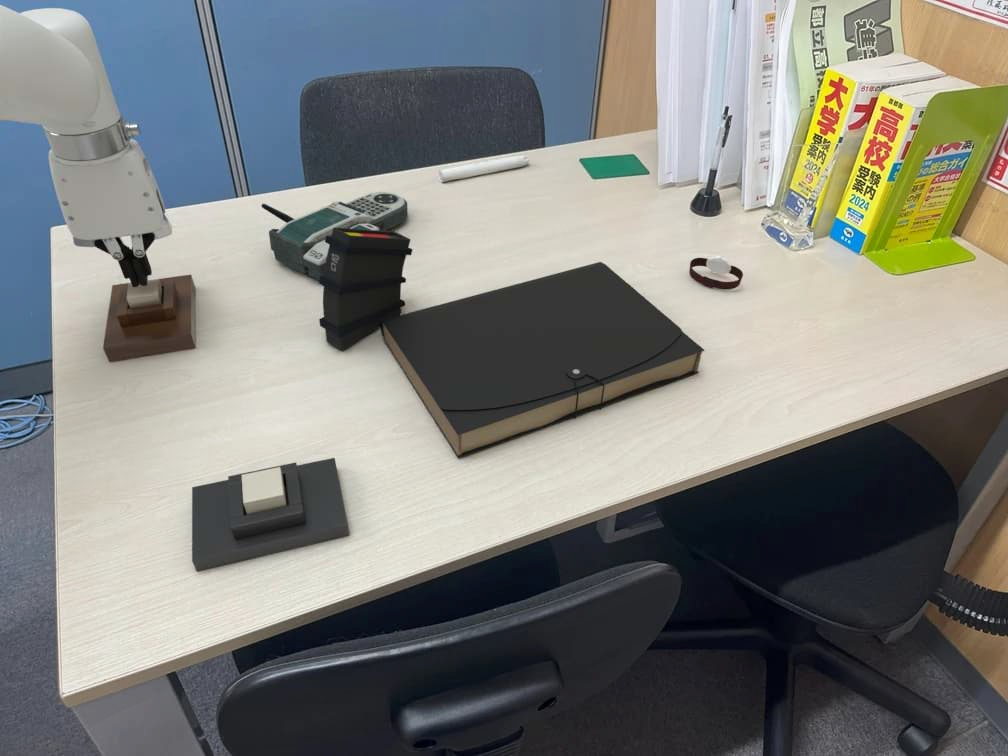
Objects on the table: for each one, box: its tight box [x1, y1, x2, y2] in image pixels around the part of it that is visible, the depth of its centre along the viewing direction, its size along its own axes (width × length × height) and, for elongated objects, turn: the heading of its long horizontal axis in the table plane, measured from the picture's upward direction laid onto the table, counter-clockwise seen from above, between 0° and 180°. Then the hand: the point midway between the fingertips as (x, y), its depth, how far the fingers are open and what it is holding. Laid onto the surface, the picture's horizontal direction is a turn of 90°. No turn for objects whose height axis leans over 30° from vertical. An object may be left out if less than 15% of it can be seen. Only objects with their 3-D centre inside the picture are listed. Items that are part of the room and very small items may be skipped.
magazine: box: [318, 227, 413, 351], centre depth 90 cm, size 4×13×15 cm, turn 141°
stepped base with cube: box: [191, 457, 350, 572], centre depth 69 cm, size 14×9×4 cm, turn 108°
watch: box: [688, 255, 744, 291], centre depth 103 cm, size 8×5×4 cm, turn 63°
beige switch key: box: [127, 278, 162, 309], centre depth 90 cm, size 4×4×2 cm
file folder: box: [379, 261, 706, 459], centre depth 89 cm, size 33×4×24 cm
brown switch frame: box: [102, 274, 197, 363], centre depth 92 cm, size 14×10×4 cm
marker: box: [438, 155, 531, 183], centre depth 129 cm, size 18×2×2 cm, turn 117°
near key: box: [242, 467, 287, 515], centre depth 68 cm, size 4×4×2 cm
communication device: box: [261, 191, 408, 281], centre depth 107 cm, size 12×24×9 cm, turn 146°
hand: (140, 280), depth 89 cm, fingers closed
